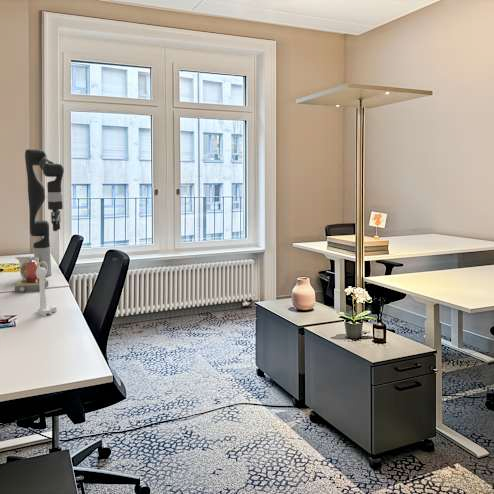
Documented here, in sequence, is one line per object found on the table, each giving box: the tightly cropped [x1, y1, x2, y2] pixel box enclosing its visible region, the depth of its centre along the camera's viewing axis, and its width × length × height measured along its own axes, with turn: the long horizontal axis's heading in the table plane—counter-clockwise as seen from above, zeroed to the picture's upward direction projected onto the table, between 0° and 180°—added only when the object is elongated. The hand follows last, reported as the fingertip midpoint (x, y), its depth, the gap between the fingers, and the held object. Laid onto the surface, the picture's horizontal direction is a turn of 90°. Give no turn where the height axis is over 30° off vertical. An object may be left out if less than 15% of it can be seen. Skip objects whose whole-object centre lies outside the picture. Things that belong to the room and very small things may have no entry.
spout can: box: [25, 255, 39, 283], centre depth 271 cm, size 6×6×15 cm
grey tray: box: [14, 278, 49, 293], centre depth 270 cm, size 16×14×4 cm
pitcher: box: [14, 256, 48, 280], centre depth 295 cm, size 11×18×14 cm, turn 93°
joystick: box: [36, 267, 57, 317], centre depth 221 cm, size 11×8×20 cm
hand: (56, 230), depth 281 cm, fingers open, 8 cm apart
